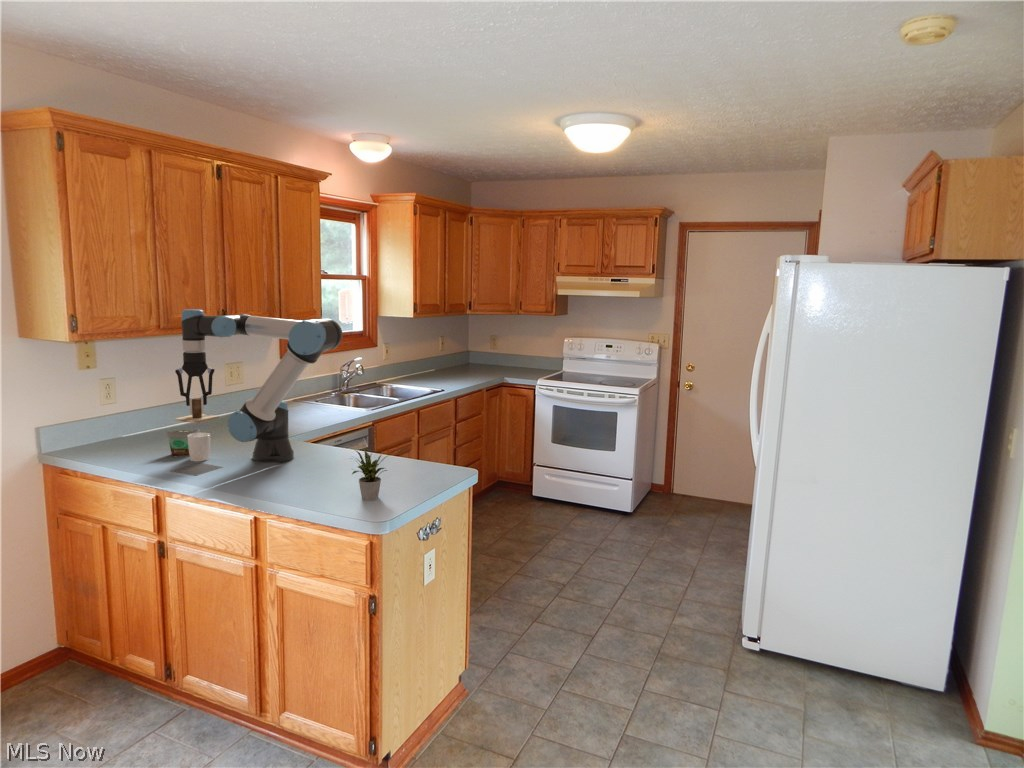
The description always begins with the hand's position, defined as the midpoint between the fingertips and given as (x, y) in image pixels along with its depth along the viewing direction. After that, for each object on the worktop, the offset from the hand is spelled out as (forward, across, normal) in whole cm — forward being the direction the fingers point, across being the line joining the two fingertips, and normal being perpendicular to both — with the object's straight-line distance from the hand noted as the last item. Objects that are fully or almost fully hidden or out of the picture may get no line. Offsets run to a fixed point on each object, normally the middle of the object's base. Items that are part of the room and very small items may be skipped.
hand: (197, 413), depth 246 cm
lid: (+2, 0, 0) cm, 2 cm away
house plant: (+19, -49, +63) cm, 82 cm away
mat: (+19, +1, +12) cm, 22 cm away
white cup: (+19, 0, -2) cm, 19 cm away
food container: (+19, +6, -12) cm, 23 cm away
